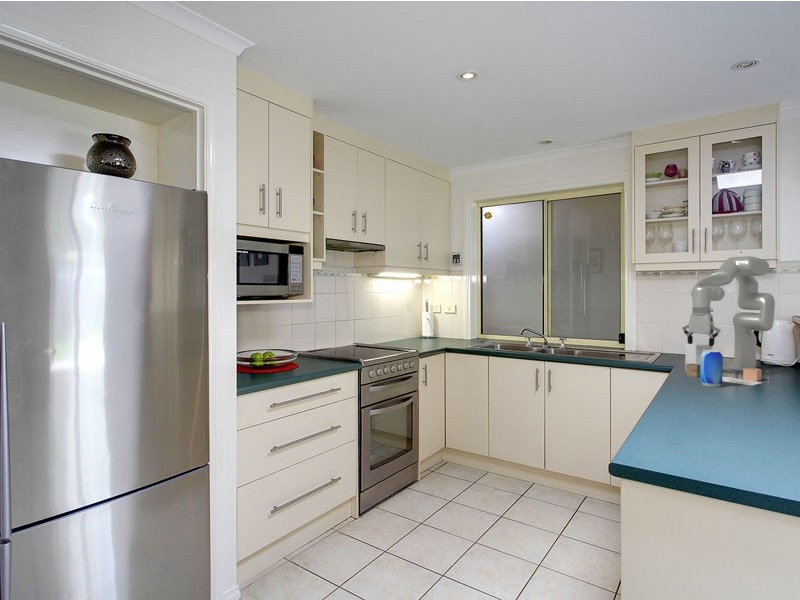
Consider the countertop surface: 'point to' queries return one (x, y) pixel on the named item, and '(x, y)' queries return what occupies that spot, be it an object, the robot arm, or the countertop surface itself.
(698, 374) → the walnut block
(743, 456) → the countertop surface
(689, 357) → the supplement box
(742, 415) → the countertop surface
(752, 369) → the terracotta cube
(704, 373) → the beer can
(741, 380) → the letter
